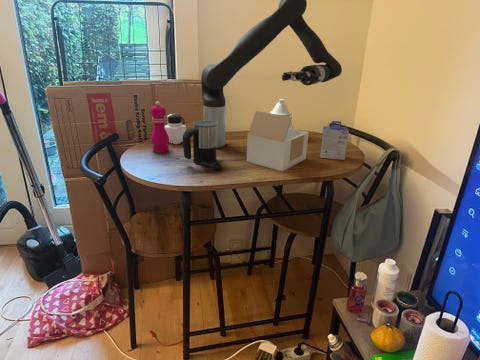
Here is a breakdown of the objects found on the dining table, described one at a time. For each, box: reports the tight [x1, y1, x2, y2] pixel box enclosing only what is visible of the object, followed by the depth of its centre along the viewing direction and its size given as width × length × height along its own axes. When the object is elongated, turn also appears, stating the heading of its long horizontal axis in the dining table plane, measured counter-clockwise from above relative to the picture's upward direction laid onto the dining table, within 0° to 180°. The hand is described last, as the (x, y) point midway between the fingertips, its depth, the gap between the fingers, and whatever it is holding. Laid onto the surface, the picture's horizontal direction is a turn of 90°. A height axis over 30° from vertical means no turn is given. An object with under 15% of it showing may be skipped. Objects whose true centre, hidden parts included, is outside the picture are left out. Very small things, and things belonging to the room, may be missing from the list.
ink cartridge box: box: [319, 120, 350, 161], centre depth 140 cm, size 10×6×14 cm, turn 78°
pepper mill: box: [150, 101, 169, 153], centre depth 142 cm, size 7×7×20 cm
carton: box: [246, 128, 310, 173], centre depth 135 cm, size 18×17×11 cm
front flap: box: [247, 110, 293, 142], centre depth 126 cm, size 9×15×1 cm
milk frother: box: [182, 120, 224, 171], centre depth 129 cm, size 14×16×15 cm
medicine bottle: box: [164, 113, 187, 145], centre depth 155 cm, size 7×7×12 cm
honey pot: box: [269, 98, 294, 129], centre depth 165 cm, size 13×13×18 cm
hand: (292, 78), depth 131 cm, fingers open, 7 cm apart
